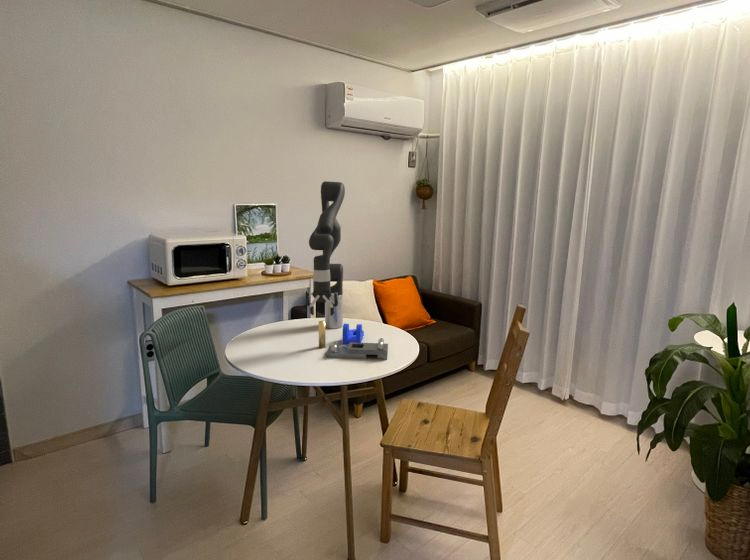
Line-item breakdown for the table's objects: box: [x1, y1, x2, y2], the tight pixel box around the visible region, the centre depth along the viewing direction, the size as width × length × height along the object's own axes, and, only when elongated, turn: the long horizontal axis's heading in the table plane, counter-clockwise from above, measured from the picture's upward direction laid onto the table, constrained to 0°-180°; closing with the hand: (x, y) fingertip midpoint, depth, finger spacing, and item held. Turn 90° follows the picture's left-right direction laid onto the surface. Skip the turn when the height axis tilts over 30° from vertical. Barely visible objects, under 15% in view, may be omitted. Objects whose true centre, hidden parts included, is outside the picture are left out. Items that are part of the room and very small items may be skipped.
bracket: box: [342, 323, 365, 345], centre depth 212 cm, size 18×8×9 cm, turn 175°
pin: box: [318, 320, 326, 349], centre depth 199 cm, size 3×3×12 cm
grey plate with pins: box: [325, 338, 389, 360], centre depth 191 cm, size 9×26×6 cm, turn 86°
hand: (322, 315), depth 197 cm, fingers open, 8 cm apart
